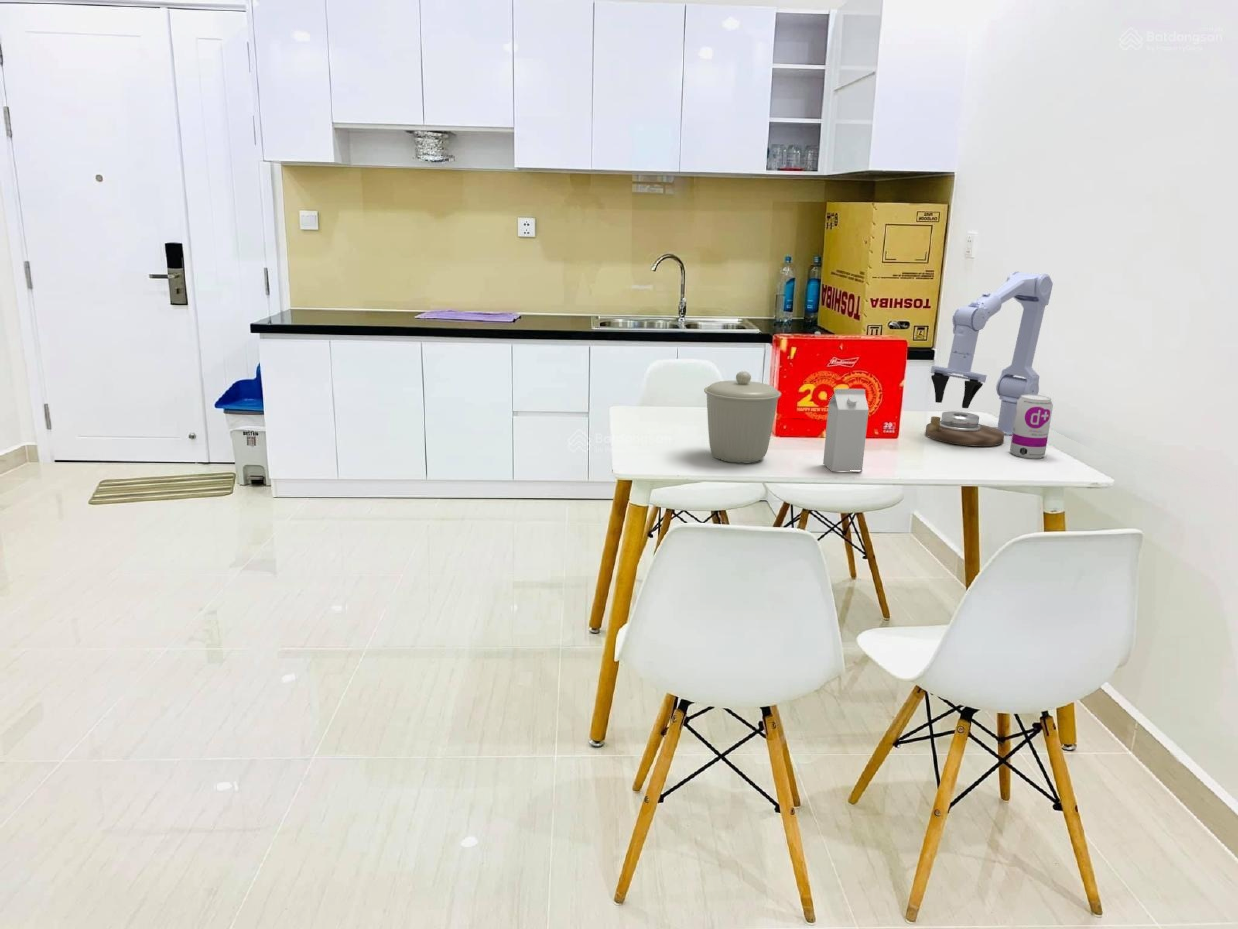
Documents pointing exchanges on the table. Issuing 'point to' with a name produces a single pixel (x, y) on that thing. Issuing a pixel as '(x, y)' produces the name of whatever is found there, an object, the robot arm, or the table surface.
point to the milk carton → (846, 430)
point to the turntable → (964, 435)
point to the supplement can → (1031, 426)
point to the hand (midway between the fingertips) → (951, 405)
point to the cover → (960, 421)
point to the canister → (740, 418)
